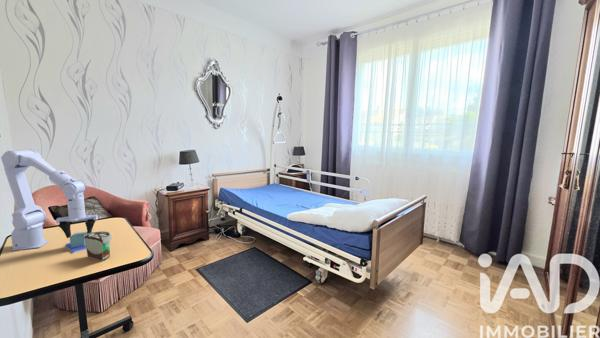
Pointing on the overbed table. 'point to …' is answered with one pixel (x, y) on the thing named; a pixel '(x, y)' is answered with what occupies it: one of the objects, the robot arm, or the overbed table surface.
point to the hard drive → (75, 248)
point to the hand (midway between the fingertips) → (79, 236)
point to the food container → (98, 245)
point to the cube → (77, 239)
